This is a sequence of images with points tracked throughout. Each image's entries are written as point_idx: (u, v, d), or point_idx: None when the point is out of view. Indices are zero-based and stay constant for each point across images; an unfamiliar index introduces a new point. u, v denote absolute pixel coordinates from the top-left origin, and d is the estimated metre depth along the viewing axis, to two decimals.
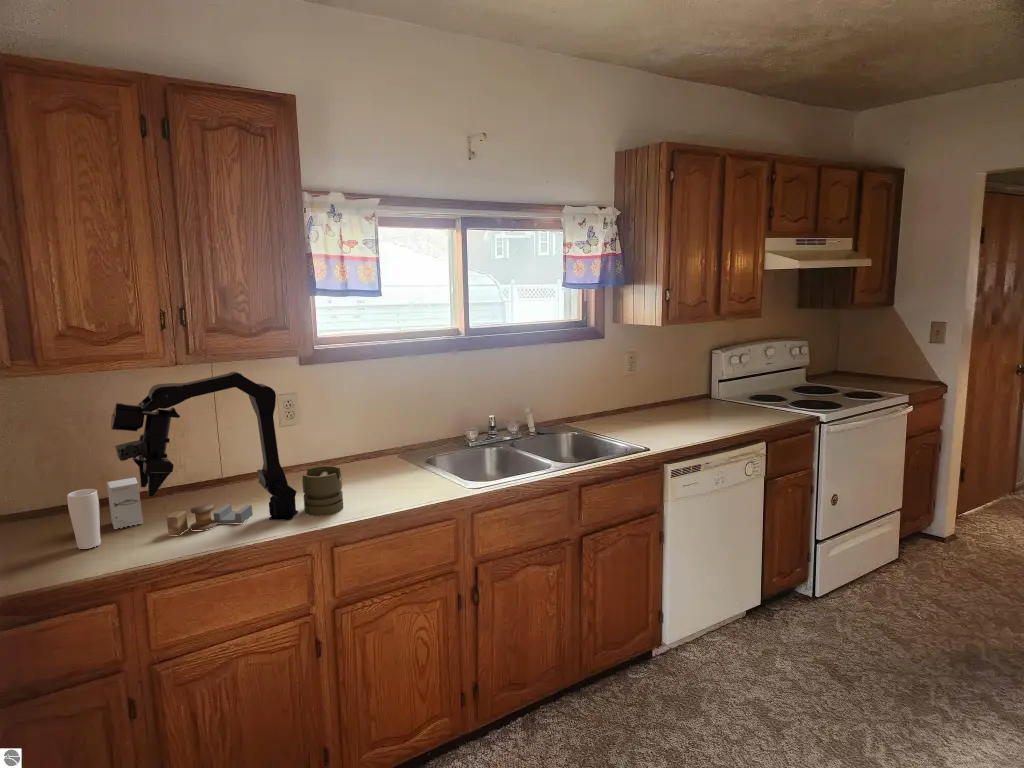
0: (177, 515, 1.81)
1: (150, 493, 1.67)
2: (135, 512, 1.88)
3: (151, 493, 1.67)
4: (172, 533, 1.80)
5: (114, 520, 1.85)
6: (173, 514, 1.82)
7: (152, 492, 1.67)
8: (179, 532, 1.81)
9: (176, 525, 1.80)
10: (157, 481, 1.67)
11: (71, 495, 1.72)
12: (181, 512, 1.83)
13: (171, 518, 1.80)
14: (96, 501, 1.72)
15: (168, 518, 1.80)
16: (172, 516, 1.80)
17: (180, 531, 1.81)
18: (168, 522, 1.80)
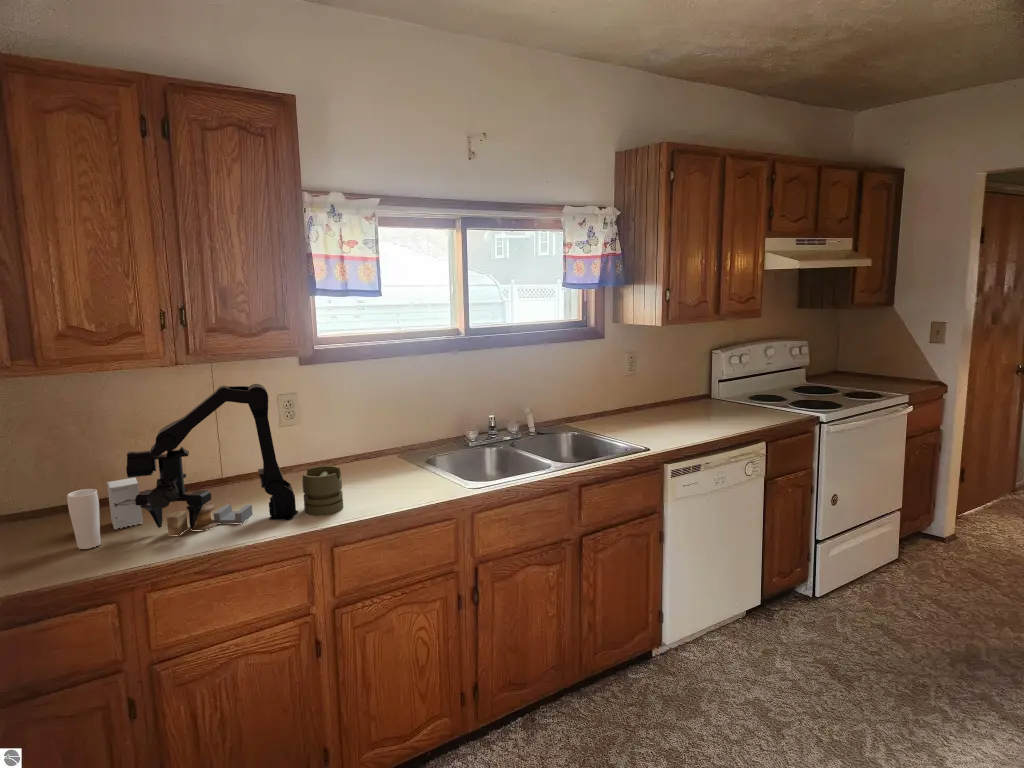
0: (177, 515, 1.81)
1: (192, 525, 1.81)
2: (135, 512, 1.88)
3: (192, 525, 1.81)
4: (172, 533, 1.80)
5: (114, 520, 1.85)
6: (173, 514, 1.82)
7: (194, 523, 1.82)
8: (179, 532, 1.81)
9: (176, 525, 1.80)
10: (196, 512, 1.82)
11: (71, 495, 1.72)
12: (181, 512, 1.83)
13: (171, 518, 1.80)
14: (96, 501, 1.72)
15: (168, 518, 1.80)
16: (172, 516, 1.80)
17: (180, 531, 1.81)
18: (168, 522, 1.80)
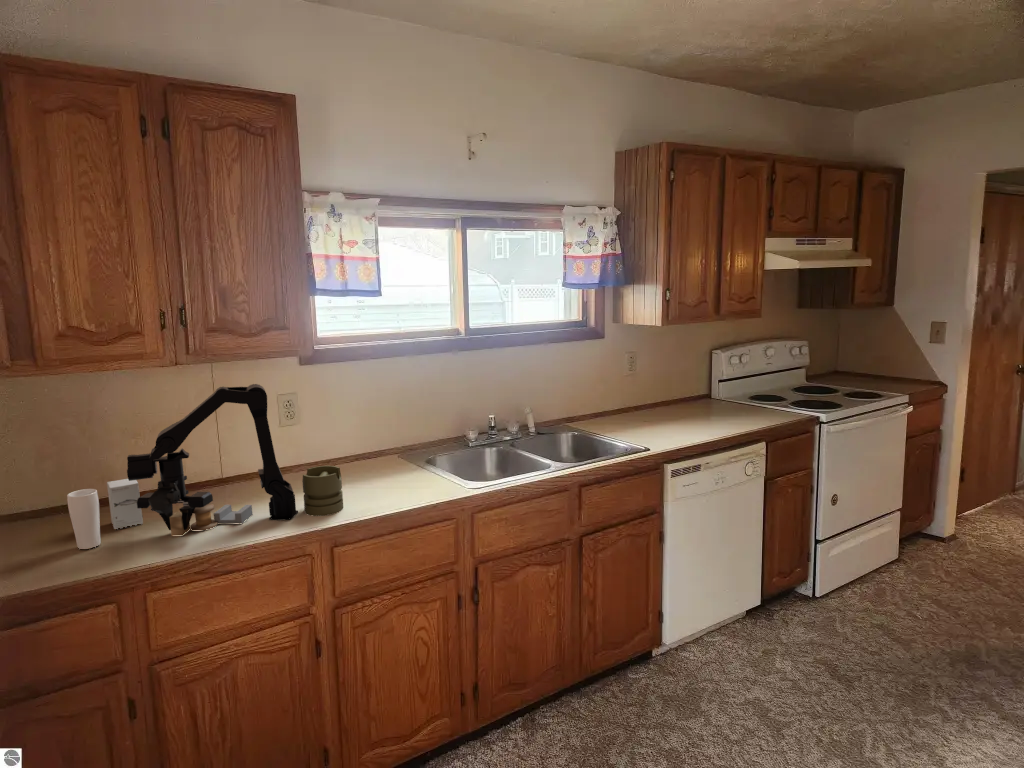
0: (180, 515, 1.81)
1: (185, 527, 1.81)
2: (135, 512, 1.88)
3: (186, 527, 1.81)
4: (175, 533, 1.80)
5: (114, 520, 1.85)
6: (176, 514, 1.81)
7: (187, 525, 1.82)
8: (182, 532, 1.80)
9: (179, 525, 1.80)
10: (189, 514, 1.82)
11: (71, 495, 1.72)
12: None
13: (174, 517, 1.79)
14: (96, 501, 1.72)
15: (171, 518, 1.79)
16: (175, 516, 1.80)
17: (183, 531, 1.81)
18: (171, 522, 1.80)
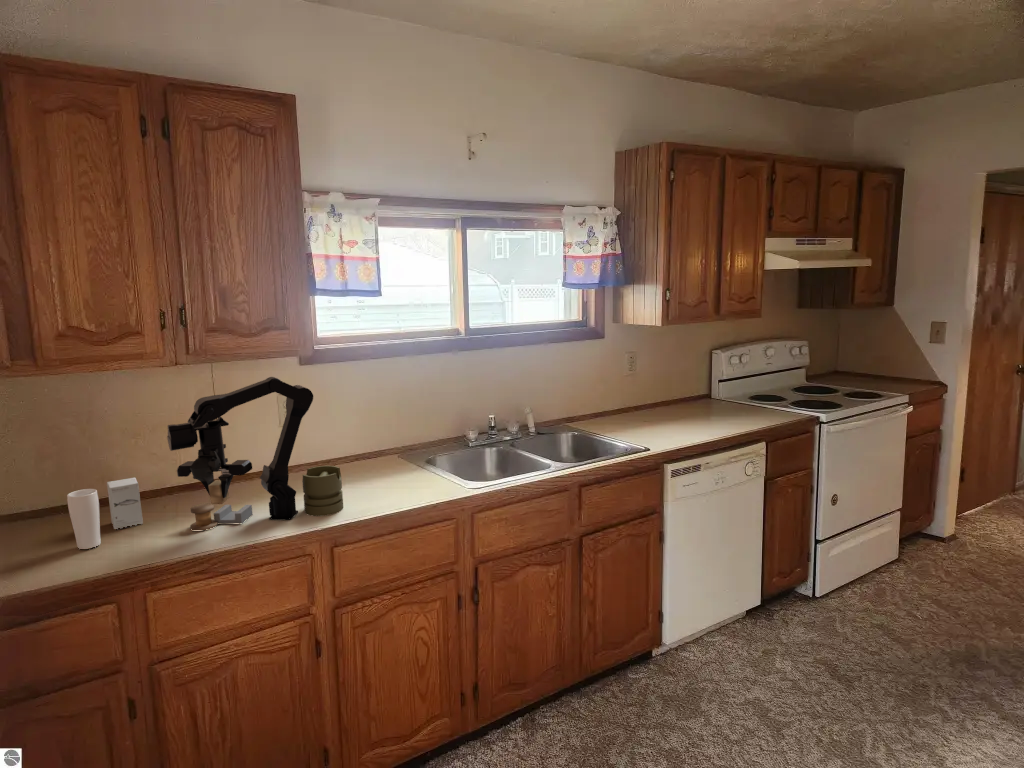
0: (218, 483, 1.81)
1: (224, 495, 1.82)
2: (135, 512, 1.88)
3: (225, 495, 1.82)
4: (214, 501, 1.81)
5: (114, 520, 1.85)
6: (214, 482, 1.82)
7: (226, 493, 1.82)
8: (221, 500, 1.81)
9: (218, 493, 1.80)
10: (228, 482, 1.82)
11: (71, 495, 1.72)
12: None
13: (213, 486, 1.80)
14: (96, 501, 1.72)
15: (210, 486, 1.80)
16: (214, 484, 1.80)
17: (222, 499, 1.81)
18: (210, 490, 1.80)
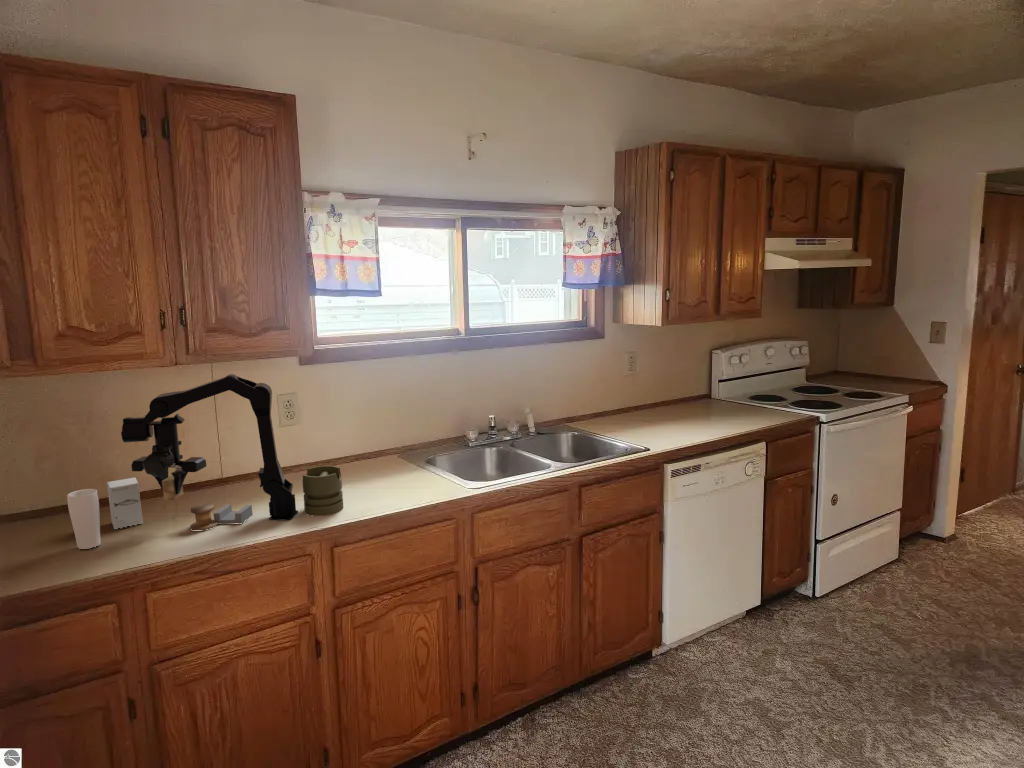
0: (172, 479, 1.83)
1: (177, 491, 1.84)
2: (135, 512, 1.88)
3: (178, 491, 1.84)
4: (167, 497, 1.83)
5: (114, 520, 1.85)
6: (168, 478, 1.84)
7: (179, 489, 1.84)
8: (174, 496, 1.83)
9: (171, 489, 1.82)
10: (181, 478, 1.84)
11: (71, 495, 1.72)
12: None
13: (166, 481, 1.82)
14: (96, 501, 1.72)
15: (163, 482, 1.82)
16: (167, 480, 1.82)
17: (175, 495, 1.83)
18: (163, 486, 1.82)
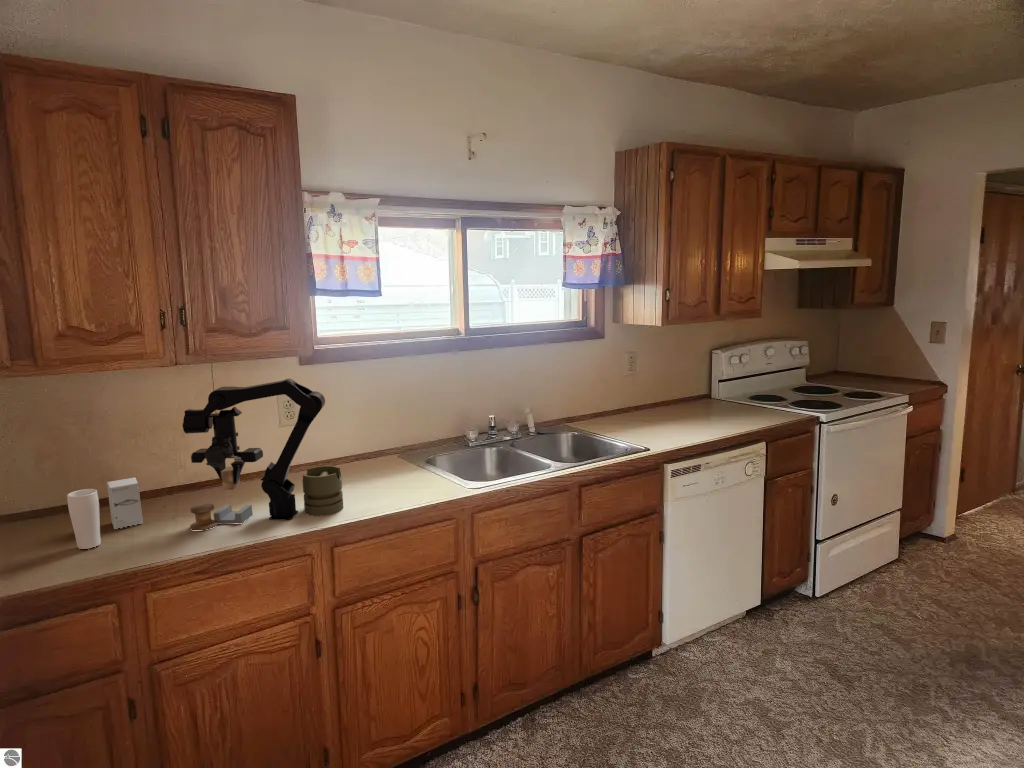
0: (230, 469, 1.89)
1: (235, 481, 1.89)
2: (135, 512, 1.88)
3: (236, 481, 1.90)
4: (226, 487, 1.88)
5: (114, 520, 1.85)
6: (226, 469, 1.89)
7: (237, 480, 1.90)
8: (233, 486, 1.89)
9: (230, 479, 1.88)
10: (239, 469, 1.90)
11: (71, 495, 1.72)
12: None
13: (225, 472, 1.87)
14: (96, 501, 1.72)
15: (222, 472, 1.88)
16: (226, 470, 1.88)
17: (234, 485, 1.89)
18: (222, 476, 1.88)
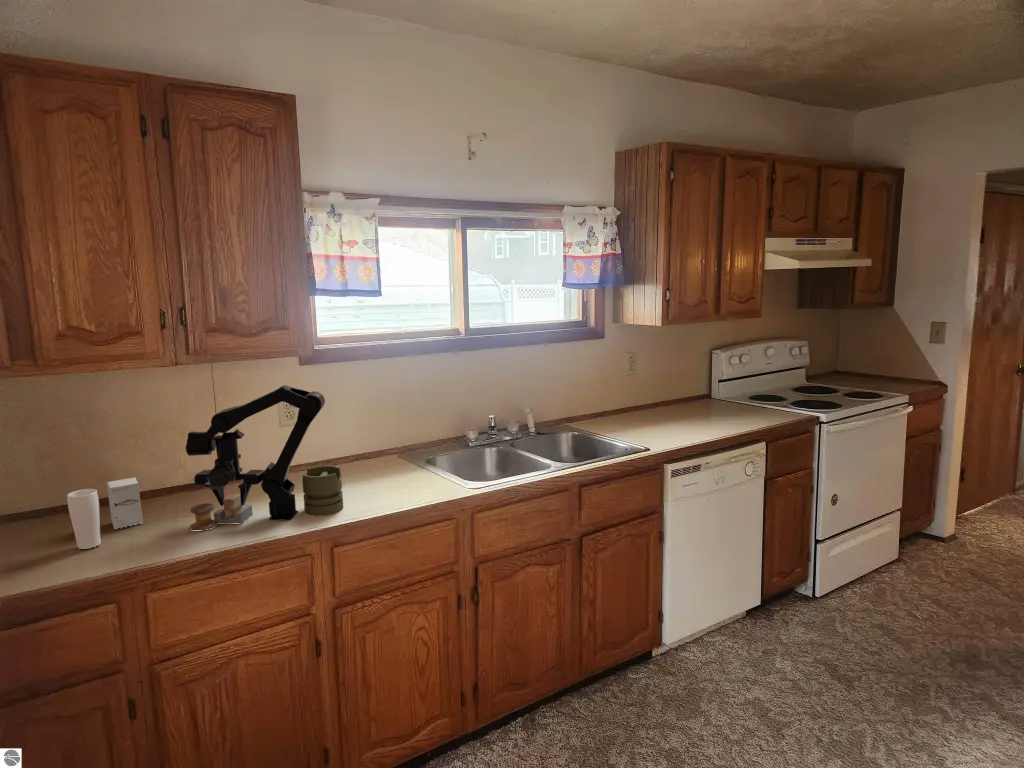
0: (233, 497, 1.90)
1: (243, 503, 1.91)
2: (135, 512, 1.88)
3: (243, 503, 1.91)
4: (228, 514, 1.90)
5: (114, 520, 1.85)
6: (229, 496, 1.91)
7: (244, 501, 1.91)
8: None
9: (232, 507, 1.89)
10: (246, 490, 1.91)
11: (71, 495, 1.72)
12: (236, 495, 1.93)
13: (228, 500, 1.89)
14: (96, 501, 1.72)
15: (225, 500, 1.89)
16: (228, 498, 1.90)
17: None
18: (225, 504, 1.90)
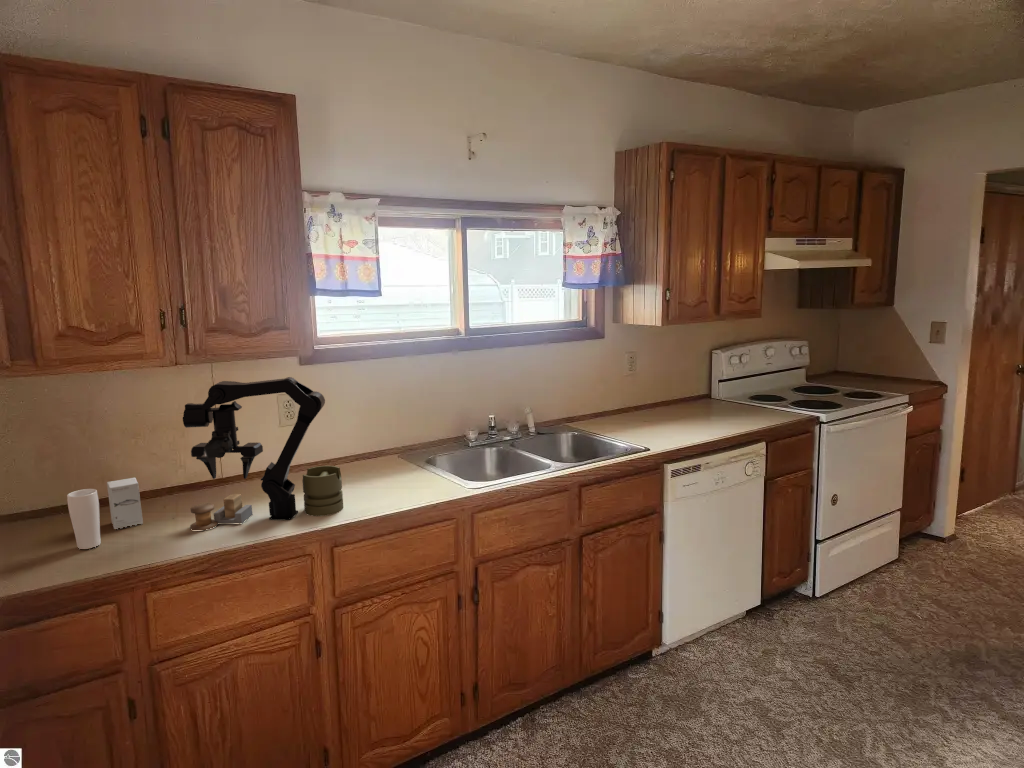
0: (233, 497, 1.90)
1: (245, 476, 1.89)
2: (135, 512, 1.88)
3: (245, 476, 1.89)
4: (228, 514, 1.90)
5: (114, 520, 1.85)
6: (229, 496, 1.91)
7: (247, 474, 1.89)
8: None
9: (232, 507, 1.89)
10: (249, 463, 1.89)
11: (71, 495, 1.72)
12: (237, 495, 1.93)
13: (228, 500, 1.89)
14: (96, 501, 1.72)
15: (225, 500, 1.89)
16: (229, 498, 1.90)
17: None
18: (225, 504, 1.90)
